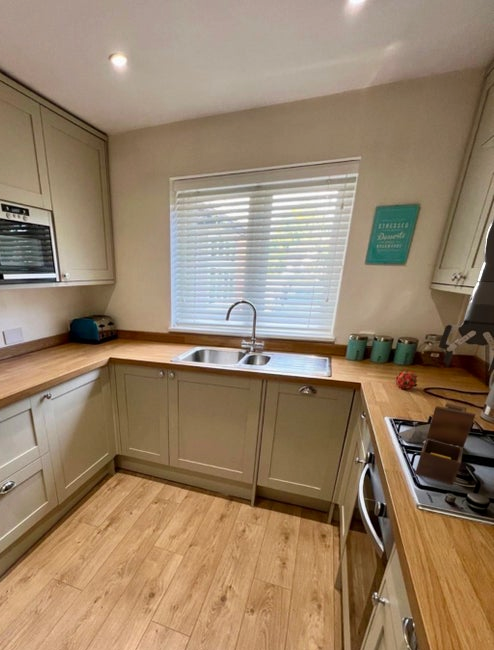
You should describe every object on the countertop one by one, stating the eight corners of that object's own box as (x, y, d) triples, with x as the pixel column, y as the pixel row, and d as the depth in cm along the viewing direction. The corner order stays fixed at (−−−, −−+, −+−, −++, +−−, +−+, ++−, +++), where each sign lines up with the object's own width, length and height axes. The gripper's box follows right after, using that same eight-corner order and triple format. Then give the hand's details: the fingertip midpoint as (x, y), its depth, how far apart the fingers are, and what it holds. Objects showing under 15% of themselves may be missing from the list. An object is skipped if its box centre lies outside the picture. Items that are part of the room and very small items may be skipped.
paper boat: (396, 439, 105) (389, 421, 112) (403, 453, 107) (396, 434, 114) (440, 427, 98) (430, 409, 106) (447, 442, 101) (437, 423, 108)
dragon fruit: (405, 387, 161) (404, 397, 153) (391, 375, 163) (389, 385, 154) (421, 376, 156) (421, 386, 147) (406, 364, 157) (405, 373, 148)
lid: (475, 415, 82) (477, 403, 85) (435, 407, 87) (439, 396, 90) (463, 447, 89) (466, 434, 92) (426, 437, 94) (430, 426, 97)
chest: (453, 485, 84) (460, 463, 82) (415, 473, 89) (421, 452, 87) (455, 468, 91) (463, 447, 89) (420, 458, 96) (426, 438, 94)
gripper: (529, 302, 77) (504, 370, 82) (453, 299, 85) (435, 360, 91) (533, 305, 71) (506, 376, 77) (451, 301, 80) (432, 366, 86)
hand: (468, 368), depth 84 cm, fingers open, 8 cm apart
